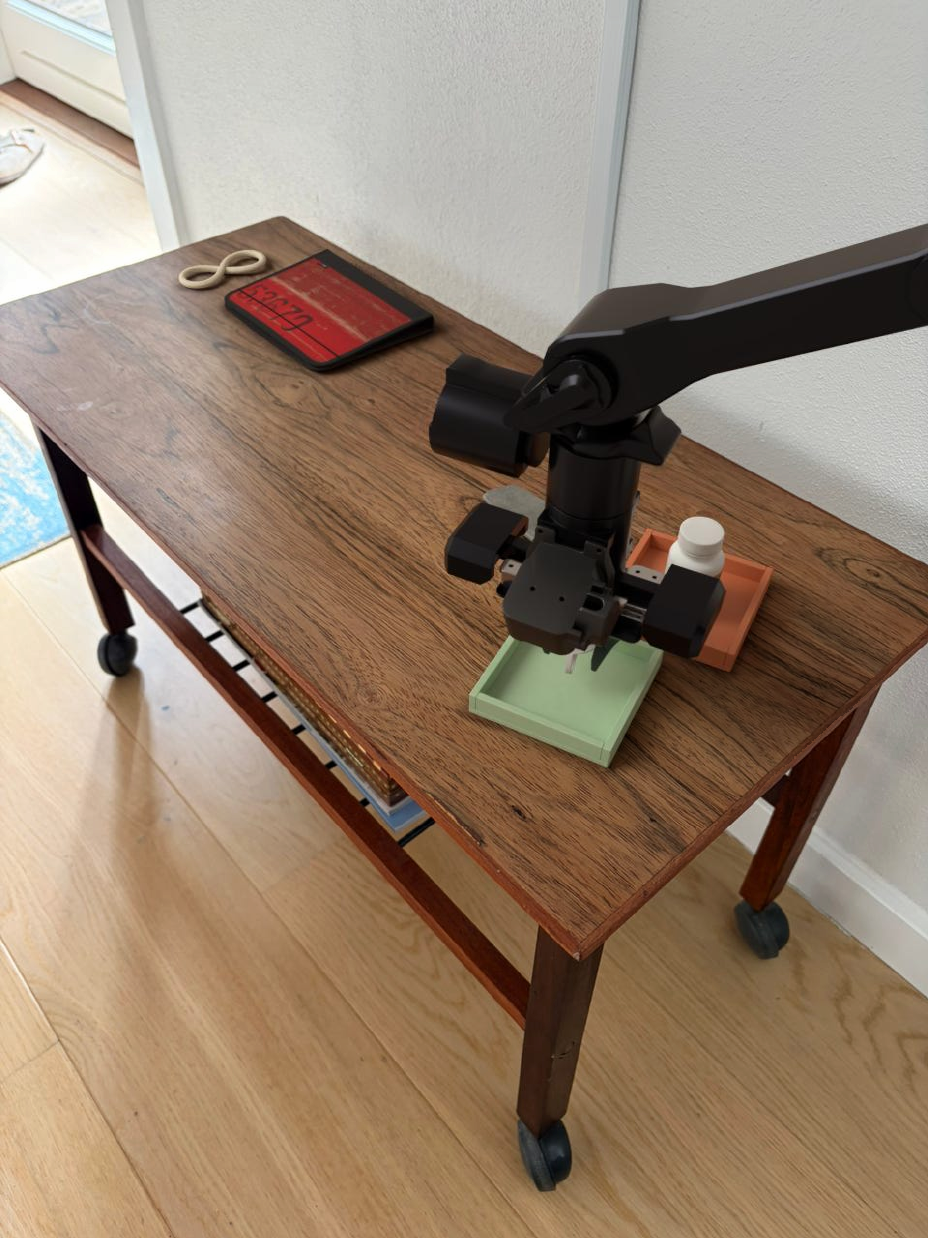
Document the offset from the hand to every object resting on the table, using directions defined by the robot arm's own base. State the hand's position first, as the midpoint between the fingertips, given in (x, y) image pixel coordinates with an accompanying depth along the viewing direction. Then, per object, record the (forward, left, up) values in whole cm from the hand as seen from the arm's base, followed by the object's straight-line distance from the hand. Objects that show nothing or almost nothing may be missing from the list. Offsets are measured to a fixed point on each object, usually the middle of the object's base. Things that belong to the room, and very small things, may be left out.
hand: (572, 658), depth 76 cm
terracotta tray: (-5, -13, -3) cm, 14 cm away
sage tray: (0, 0, -3) cm, 3 cm away
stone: (+10, -16, -4) cm, 19 cm away
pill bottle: (-5, -13, -3) cm, 14 cm away
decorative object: (+64, -42, -3) cm, 77 cm away
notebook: (+47, -39, -4) cm, 61 cm away
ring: (0, 0, -1) cm, 1 cm away
